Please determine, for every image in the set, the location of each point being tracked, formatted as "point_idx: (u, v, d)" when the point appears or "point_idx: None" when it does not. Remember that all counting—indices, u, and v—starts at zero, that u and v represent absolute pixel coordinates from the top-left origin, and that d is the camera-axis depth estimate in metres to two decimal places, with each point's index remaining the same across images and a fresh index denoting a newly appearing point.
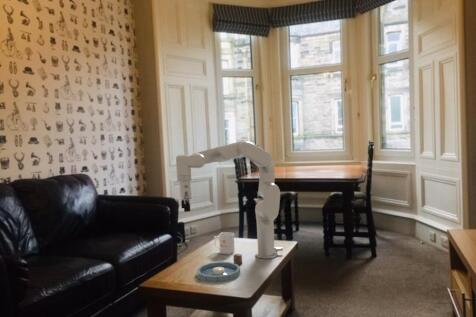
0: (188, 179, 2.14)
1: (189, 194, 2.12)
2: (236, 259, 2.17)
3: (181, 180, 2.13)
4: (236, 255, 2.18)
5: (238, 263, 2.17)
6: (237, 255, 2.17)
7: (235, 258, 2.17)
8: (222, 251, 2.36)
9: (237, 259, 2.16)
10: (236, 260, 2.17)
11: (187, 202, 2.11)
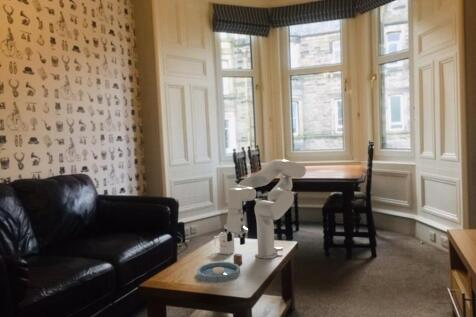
0: None
1: None
2: (236, 259, 2.17)
3: (236, 213, 2.13)
4: (236, 255, 2.18)
5: (238, 263, 2.17)
6: (237, 255, 2.17)
7: (235, 258, 2.17)
8: (222, 251, 2.36)
9: (237, 259, 2.16)
10: (236, 260, 2.17)
11: (245, 235, 2.12)
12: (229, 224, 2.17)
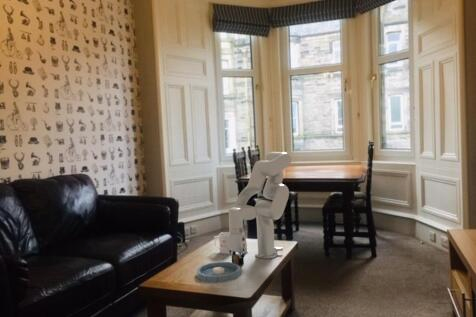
0: (243, 231, 2.16)
1: (245, 246, 2.16)
2: (236, 258, 2.16)
3: (238, 233, 2.14)
4: (236, 255, 2.18)
5: (238, 263, 2.17)
6: (237, 255, 2.17)
7: (235, 258, 2.17)
8: (222, 251, 2.36)
9: (237, 259, 2.16)
10: (235, 260, 2.17)
11: (243, 256, 2.15)
12: (230, 243, 2.18)
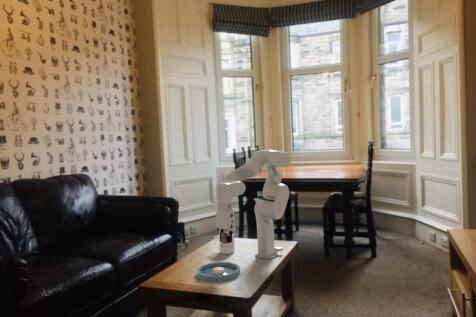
0: (231, 207, 2.06)
1: (234, 223, 2.05)
2: (223, 236, 2.06)
3: (226, 209, 2.03)
4: (224, 232, 2.07)
5: (226, 241, 2.06)
6: (225, 233, 2.06)
7: (223, 235, 2.06)
8: (222, 251, 2.36)
9: (225, 237, 2.06)
10: (223, 237, 2.06)
11: (232, 233, 2.05)
12: (218, 220, 2.07)
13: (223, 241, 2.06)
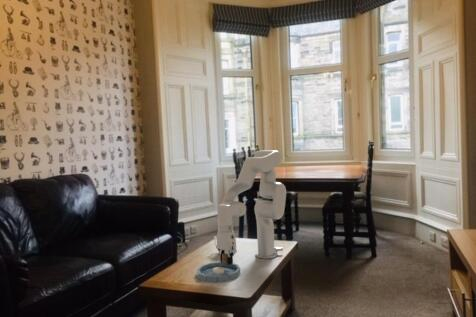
0: None
1: (235, 244, 2.06)
2: (224, 257, 2.06)
3: (227, 231, 2.04)
4: (225, 254, 2.08)
5: (227, 262, 2.06)
6: (226, 254, 2.07)
7: (224, 257, 2.07)
8: None
9: (226, 258, 2.06)
10: (224, 259, 2.06)
11: (232, 255, 2.05)
12: (219, 242, 2.08)
13: (224, 262, 2.07)
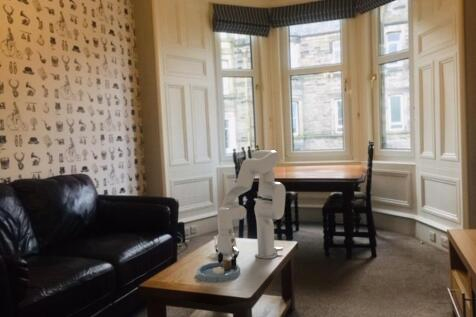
0: (232, 232, 2.07)
1: (235, 248, 2.06)
2: (225, 263, 2.07)
3: (227, 234, 2.04)
4: (225, 260, 2.08)
5: (227, 268, 2.07)
6: (227, 260, 2.07)
7: (224, 263, 2.07)
8: None
9: (226, 264, 2.07)
10: (225, 265, 2.07)
11: (236, 256, 2.04)
12: (220, 245, 2.08)
13: (224, 268, 2.07)
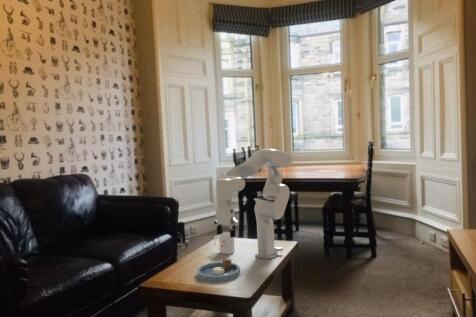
0: (231, 203, 2.06)
1: (234, 219, 2.05)
2: (225, 263, 2.07)
3: (226, 205, 2.03)
4: (225, 260, 2.08)
5: (227, 268, 2.07)
6: (227, 260, 2.07)
7: (224, 263, 2.07)
8: (222, 251, 2.36)
9: (226, 264, 2.07)
10: (225, 265, 2.07)
11: (235, 227, 2.03)
12: (218, 216, 2.07)
13: (224, 268, 2.07)
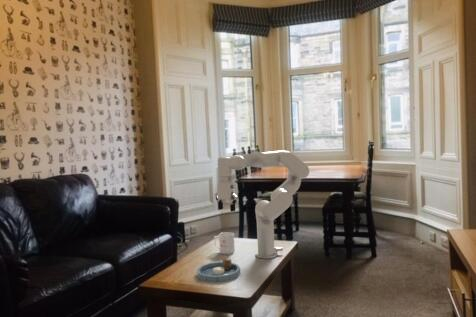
0: (231, 180, 2.21)
1: None
2: (225, 263, 2.07)
3: (226, 181, 2.19)
4: (225, 260, 2.08)
5: (227, 268, 2.07)
6: (227, 260, 2.07)
7: (224, 263, 2.07)
8: (222, 251, 2.36)
9: (226, 264, 2.07)
10: (225, 265, 2.07)
11: (235, 202, 2.19)
12: (219, 192, 2.23)
13: (224, 268, 2.07)
